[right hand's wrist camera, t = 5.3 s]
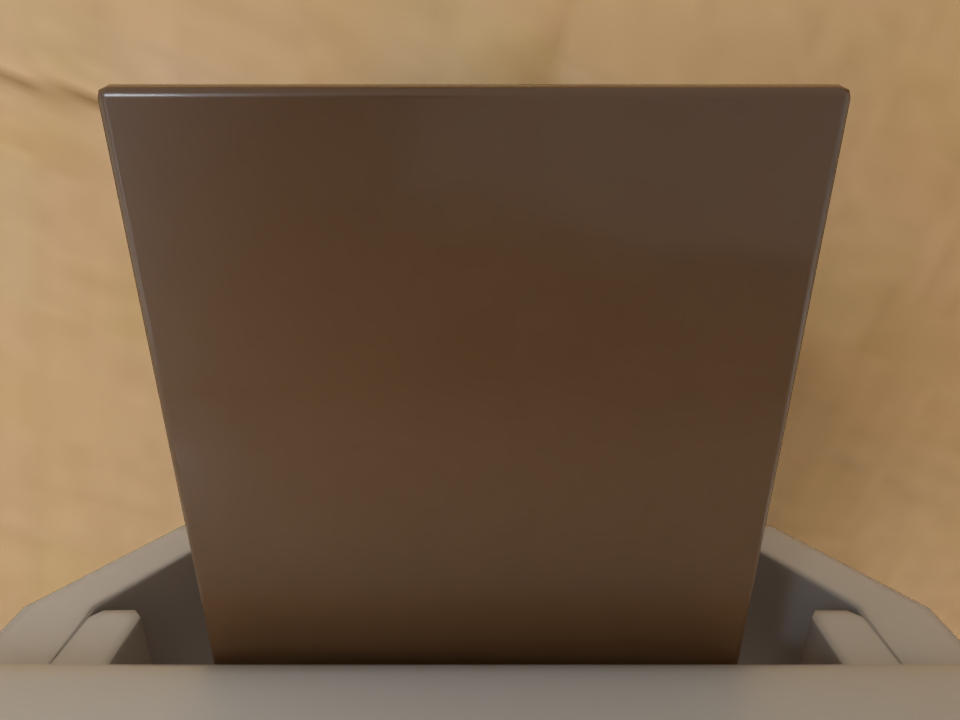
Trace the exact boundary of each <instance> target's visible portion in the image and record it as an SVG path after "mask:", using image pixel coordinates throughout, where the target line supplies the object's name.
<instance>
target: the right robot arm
mask: <svg viewBox="0 0 960 720" xmlns="http://www.w3.org/2000/svg"><path fill="white" fill-rule="evenodd" d="M0 720H960V641H959V640H958V638H957V637H956V636H955V635H954V634H953V633H952V632H951V631H950V630H949V629H948V628H947V627H946V626H945V625H944V623H943V622H942V621H941V620H940V619H939V618H938V617H937V616H936V615H935V614H934V613H933V612H932V611H931V610H930V609H929V608H928V607H926V606H924V605H922V604H920V603H918V602H916V601H914V600H912V599H910V598H908V597H906V596H905V595H903V594H901V593H899V592H897V591H895V590H893V589H891V588H889V587H887V586H885V585H883V584H881V583H880V582H878V581H876V580H874V579H872V578H870V577H868V576H866V575H864V574H862V573H860V572H858V571H856V570H855V569H853V568H851V567H849V566H847V565H845V564H843V563H841V562H839V561H837V560H835V559H833V558H832V557H830V556H828V555H826V554H824V553H822V552H820V551H818V550H816V549H814V548H812V547H810V546H808V545H807V544H805V543H803V542H801V541H799V540H797V539H795V538H793V537H791V536H789V535H787V534H785V533H784V532H782V531H780V530H778V529H776V528H774V527H772V526H765V529H764V534H763V539H762V544H761V550H760V555H759V560H758V565H757V570H756V575H755V580H754V585H753V590H752V595H751V600H750V605H749V610H748V615H747V620H746V625H745V630H744V635H743V640H742V645H741V650H740V655H739V660H738V665H214V661H213V656H212V651H211V646H210V641H209V636H208V632H207V627H206V622H205V617H204V612H203V607H202V602H201V598H200V593H199V588H198V583H197V578H196V573H195V568H194V564H193V559H192V554H191V549H190V544H189V539H188V534H187V529H186V526H181V527H180V528H178V529H176V530H174V531H172V532H170V533H168V534H166V535H164V536H162V537H160V538H158V539H156V540H154V541H152V542H150V543H148V544H146V545H144V546H143V547H141V548H139V549H137V550H135V551H133V552H131V553H129V554H127V555H125V556H123V557H121V558H119V559H117V560H115V561H113V562H111V563H109V564H108V565H106V566H104V567H102V568H100V569H98V570H96V571H94V572H92V573H90V574H88V575H86V576H84V577H82V578H80V579H78V580H76V581H74V582H72V583H71V584H69V585H67V586H65V587H63V588H61V589H59V590H57V591H55V592H53V593H51V594H49V595H47V596H45V597H43V598H41V599H39V600H37V601H36V602H34V603H32V604H30V605H28V606H26V607H24V608H23V609H22V610H21V611H20V612H19V613H18V614H17V615H16V616H15V617H14V618H13V619H12V620H11V621H10V622H9V623H8V624H7V625H6V627H5V628H4V629H3V630H2V631H1V632H0Z"/></svg>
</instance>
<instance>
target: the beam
mask: <svg viewBox="0 0 960 720" xmlns="http://www.w3.org/2000/svg"><path fill="white" fill-rule="evenodd" d="M98 102H99V107H100V111H101V116H102V121H103V126H104V131H105V136H106V141H107V145H108V150H109V155H110V160H111V165H112V170H113V175H114V179H115V184H116V189H117V194H118V199H119V204H120V209H121V213H122V218H123V223H124V228H125V233H126V238H127V243H128V248H129V252H130V257H131V262H132V267H133V272H134V277H135V282H136V286H137V291H138V296H139V301H140V306H141V311H142V316H143V320H144V325H145V330H146V335H147V340H148V345H149V350H150V354H151V359H152V364H153V369H154V374H155V379H156V384H157V388H158V393H159V398H160V403H161V408H162V413H163V418H164V423H165V427H166V432H167V437H168V442H169V447H170V452H171V457H172V461H173V466H174V471H175V476H176V481H177V486H178V491H179V495H180V500H181V505H182V510H183V515H184V520H185V525H186V529H187V534H188V539H189V544H190V549H191V554H192V559H193V564H194V568H195V573H196V578H197V583H198V588H199V593H200V598H201V602H202V607H203V612H204V617H205V622H206V627H207V632H208V636H209V641H210V646H211V651H212V656H213V661H214V665H738V660H739V655H740V650H741V645H742V640H743V635H744V630H745V625H746V620H747V615H748V610H749V605H750V600H751V595H752V590H753V585H754V580H755V575H756V570H757V565H758V560H759V555H760V550H761V544H762V539H763V534H764V529H765V524H766V519H767V514H768V509H769V504H770V499H771V494H772V489H773V484H774V479H775V474H776V469H777V464H778V459H779V454H780V449H781V444H782V439H783V434H784V429H785V424H786V419H787V414H788V409H789V404H790V399H791V394H792V389H793V384H794V379H795V374H796V369H797V364H798V359H799V354H800V349H801V344H802V339H803V333H804V328H805V323H806V318H807V313H808V308H809V303H810V298H811V293H812V288H813V283H814V278H815V273H816V268H817V263H818V258H819V253H820V248H821V243H822V238H823V233H824V228H825V223H826V218H827V213H828V208H829V203H830V198H831V193H832V188H833V183H834V178H835V173H836V168H837V163H838V158H839V153H840V148H841V143H842V138H843V133H844V128H845V122H846V117H847V112H848V107H849V102H850V92H849V90H848V89H846V88H844V87H842V86H840V85H108V86H106V87H104V88H102V89H100V90H99V93H98Z"/></svg>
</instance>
